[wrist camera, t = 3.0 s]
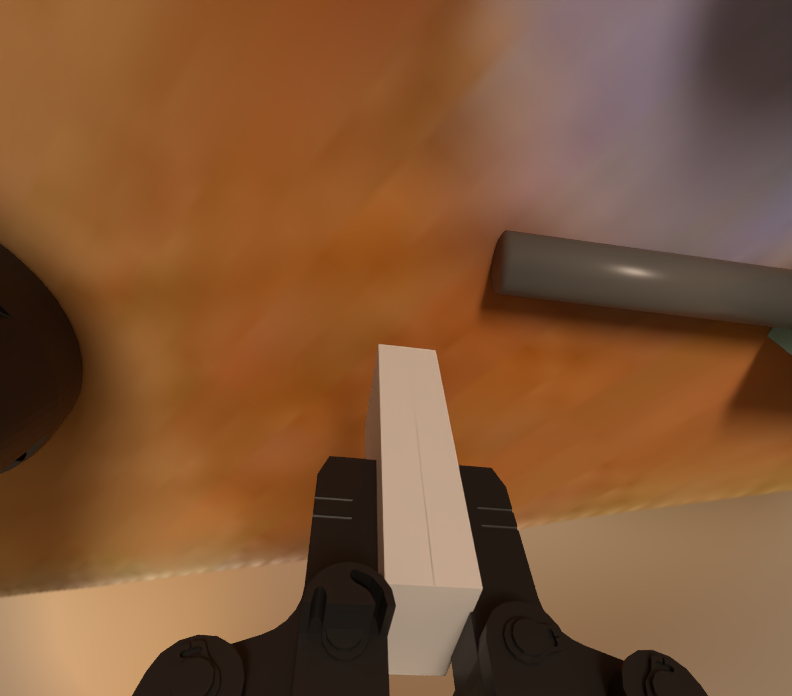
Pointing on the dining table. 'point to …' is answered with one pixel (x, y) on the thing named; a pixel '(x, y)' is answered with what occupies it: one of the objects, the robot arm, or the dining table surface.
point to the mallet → (644, 281)
